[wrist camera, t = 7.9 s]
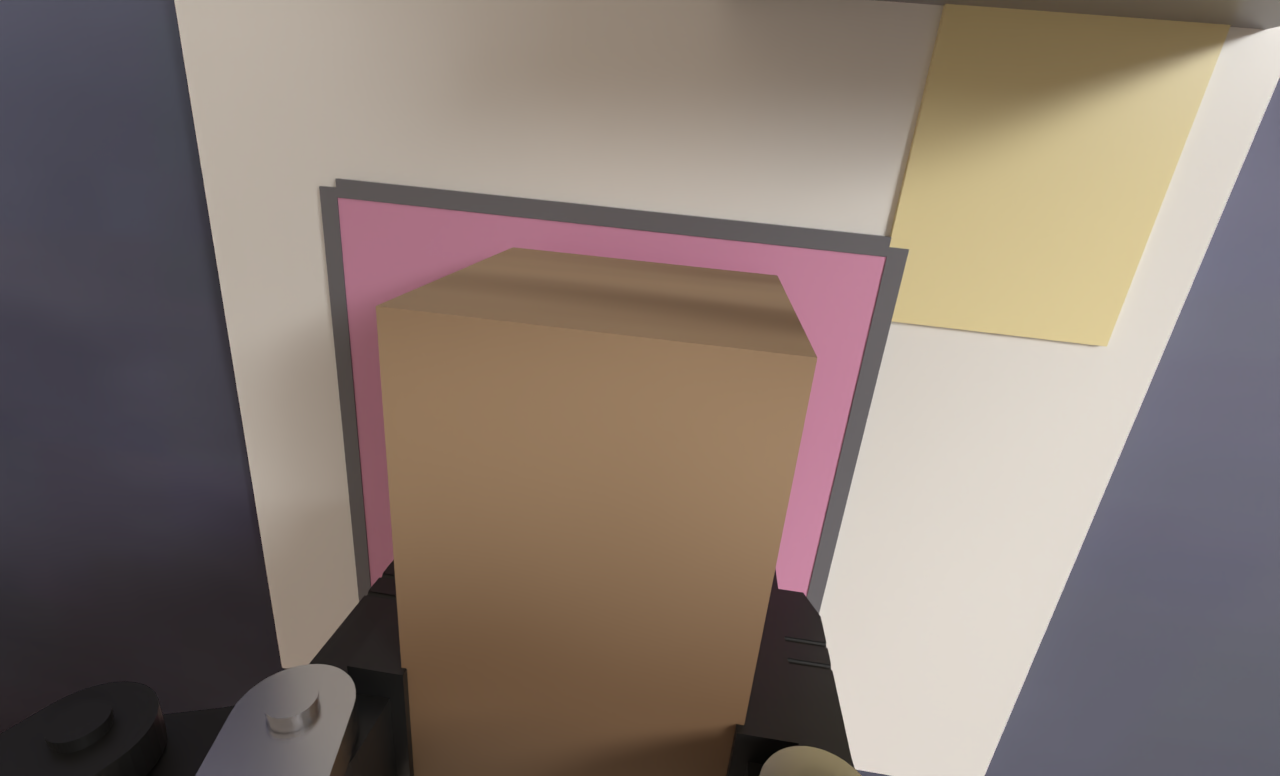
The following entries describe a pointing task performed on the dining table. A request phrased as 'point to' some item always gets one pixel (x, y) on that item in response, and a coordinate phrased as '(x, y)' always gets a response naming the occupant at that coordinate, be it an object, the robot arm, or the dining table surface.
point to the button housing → (1147, 9)
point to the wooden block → (587, 508)
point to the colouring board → (747, 242)
